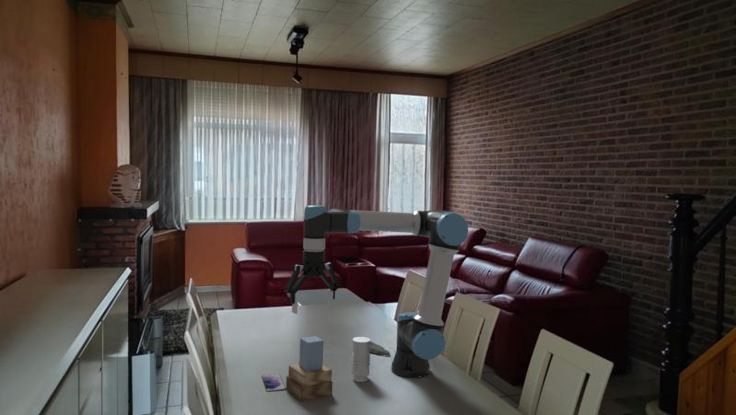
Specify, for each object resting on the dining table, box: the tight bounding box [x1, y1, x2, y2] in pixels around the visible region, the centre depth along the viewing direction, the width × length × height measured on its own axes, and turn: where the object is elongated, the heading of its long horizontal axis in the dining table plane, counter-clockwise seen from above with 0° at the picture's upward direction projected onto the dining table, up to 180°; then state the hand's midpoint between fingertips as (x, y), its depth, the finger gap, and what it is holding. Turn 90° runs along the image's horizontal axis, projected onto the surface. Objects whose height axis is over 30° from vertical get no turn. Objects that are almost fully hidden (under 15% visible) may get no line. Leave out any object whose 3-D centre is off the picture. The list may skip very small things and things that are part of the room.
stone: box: [369, 341, 391, 356], centre depth 231 cm, size 17×3×10 cm
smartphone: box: [261, 373, 287, 393], centre depth 192 cm, size 7×1×15 cm
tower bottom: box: [285, 375, 334, 403], centre depth 185 cm, size 12×12×5 cm
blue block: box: [298, 335, 325, 372], centre depth 185 cm, size 6×6×10 cm
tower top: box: [288, 363, 333, 387], centre depth 185 cm, size 11×11×4 cm
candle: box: [351, 336, 371, 383], centre depth 198 cm, size 7×7×15 cm
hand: (312, 310), depth 184 cm, fingers open, 13 cm apart
